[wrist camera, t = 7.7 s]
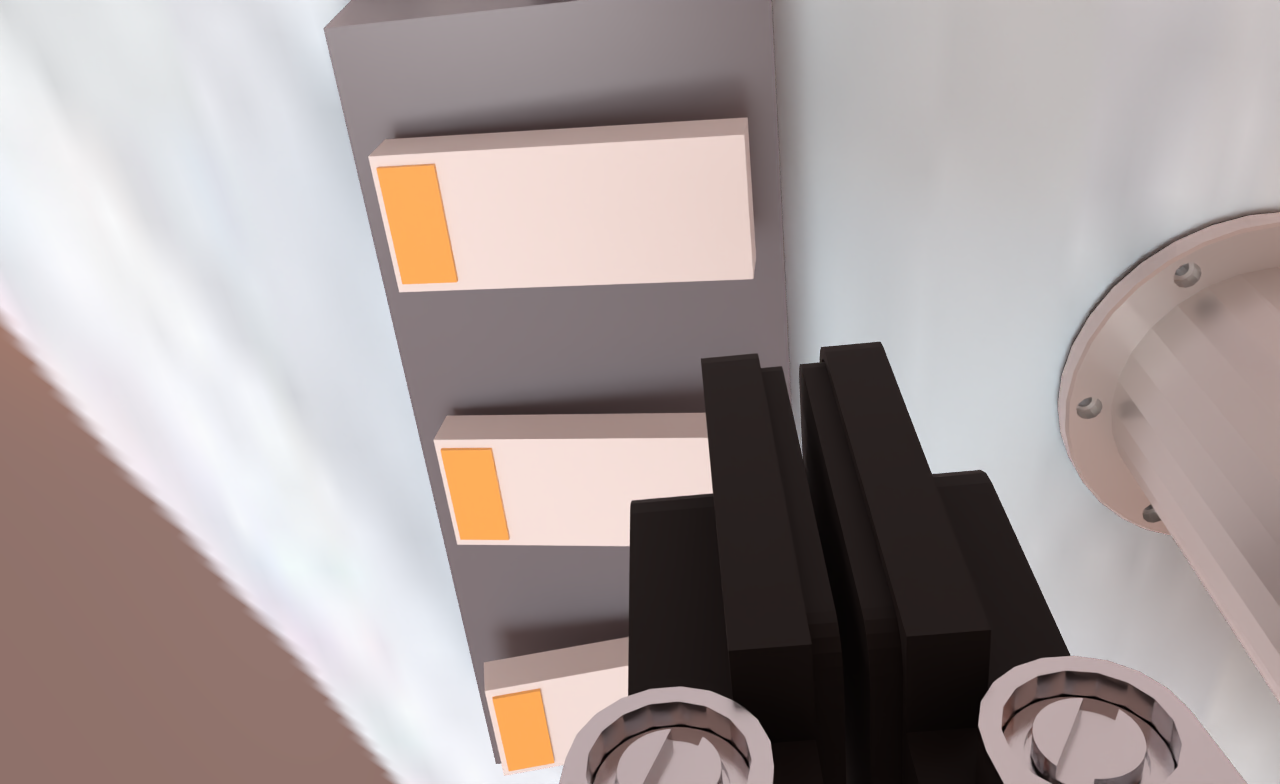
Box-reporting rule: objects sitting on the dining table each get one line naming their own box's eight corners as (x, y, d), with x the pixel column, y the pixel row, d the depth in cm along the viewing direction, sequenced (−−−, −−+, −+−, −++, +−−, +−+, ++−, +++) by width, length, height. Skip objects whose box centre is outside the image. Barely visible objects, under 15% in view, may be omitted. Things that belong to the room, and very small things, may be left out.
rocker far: (769, 611, 41) (780, 641, 40) (775, 696, 43) (785, 726, 42) (483, 662, 40) (484, 694, 39) (502, 745, 42) (504, 778, 41)
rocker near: (747, 117, 31) (743, 136, 30) (756, 257, 33) (752, 281, 32) (385, 139, 33) (366, 158, 31) (413, 271, 35) (398, 294, 33)
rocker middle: (765, 412, 35) (762, 439, 34) (772, 519, 37) (769, 550, 36) (446, 415, 37) (432, 442, 36) (469, 518, 39) (455, 547, 38)
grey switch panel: (749, -200, 33) (762, -189, 29) (795, 666, 49) (807, 740, 45) (322, -150, 33) (285, -133, 30) (506, 689, 49) (495, 763, 46)
